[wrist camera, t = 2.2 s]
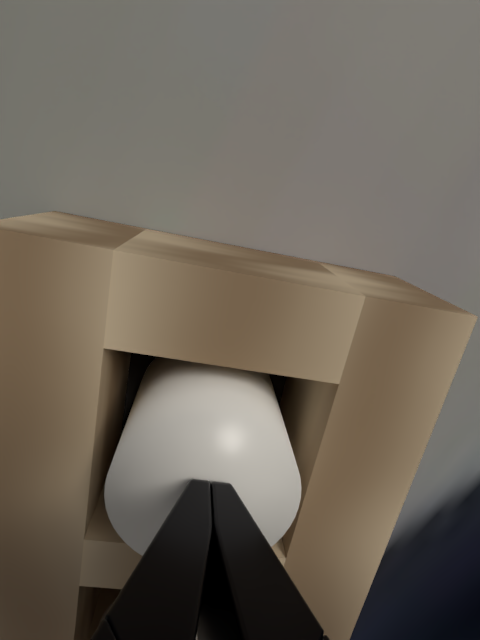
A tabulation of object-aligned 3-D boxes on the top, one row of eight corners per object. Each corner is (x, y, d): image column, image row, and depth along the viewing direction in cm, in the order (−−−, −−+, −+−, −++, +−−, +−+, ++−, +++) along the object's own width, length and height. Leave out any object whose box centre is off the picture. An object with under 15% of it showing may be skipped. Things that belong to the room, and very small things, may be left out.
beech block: (394, 276, 12) (478, 316, 8) (249, 729, 19) (258, 868, 15) (54, 211, 11) (-30, 223, 7) (26, 721, 17) (-26, 869, 14)
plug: (286, 348, 12) (323, 426, 8) (258, 462, 13) (277, 578, 9) (148, 325, 11) (114, 398, 7) (131, 446, 12) (95, 562, 8)
